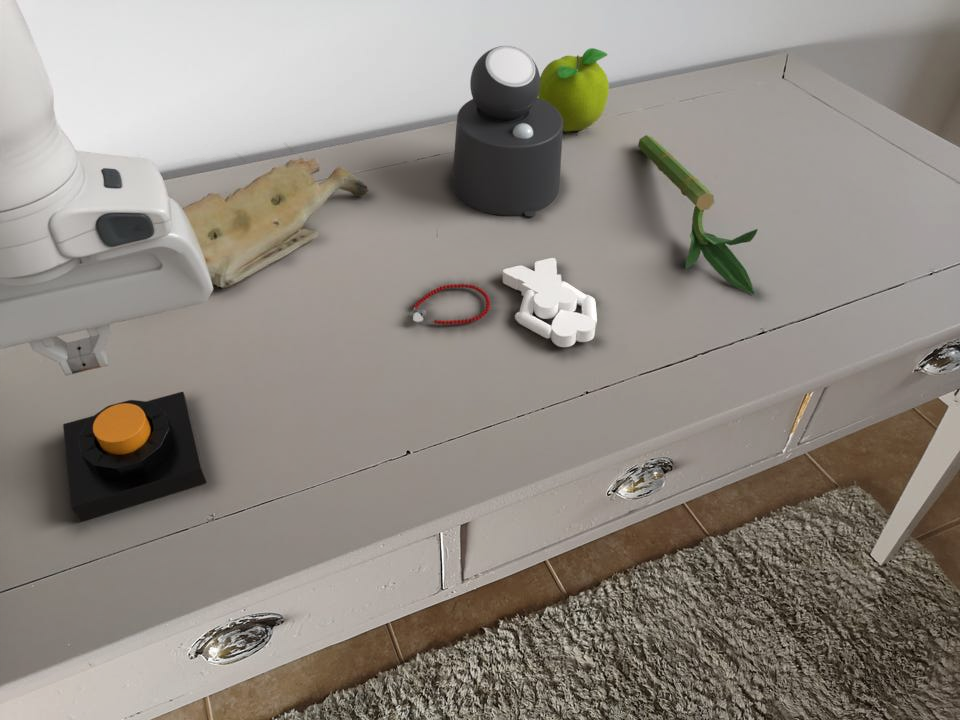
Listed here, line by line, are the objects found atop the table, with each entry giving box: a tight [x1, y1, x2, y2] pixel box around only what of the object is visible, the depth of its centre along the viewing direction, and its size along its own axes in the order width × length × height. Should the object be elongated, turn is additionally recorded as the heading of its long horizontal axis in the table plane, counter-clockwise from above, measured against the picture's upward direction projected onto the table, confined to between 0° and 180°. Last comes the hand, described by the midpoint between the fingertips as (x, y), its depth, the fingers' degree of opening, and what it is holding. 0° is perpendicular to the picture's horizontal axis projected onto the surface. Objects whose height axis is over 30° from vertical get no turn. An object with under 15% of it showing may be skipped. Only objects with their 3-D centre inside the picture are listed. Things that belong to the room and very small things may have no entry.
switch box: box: [62, 391, 207, 523], centre depth 65 cm, size 10×9×4 cm
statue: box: [181, 157, 369, 289], centre depth 84 cm, size 10×7×30 cm
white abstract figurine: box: [502, 257, 598, 348], centre depth 81 cm, size 9×12×2 cm
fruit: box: [538, 47, 610, 133], centre depth 103 cm, size 9×9×10 cm
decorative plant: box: [637, 134, 758, 295], centre depth 92 cm, size 6×8×30 cm
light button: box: [93, 403, 151, 455], centre depth 63 cm, size 4×4×2 cm
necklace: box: [412, 283, 491, 325], centre depth 81 cm, size 9×6×1 cm
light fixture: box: [451, 45, 564, 218], centre depth 91 cm, size 13×16×14 cm
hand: (86, 364), depth 58 cm, fingers closed
